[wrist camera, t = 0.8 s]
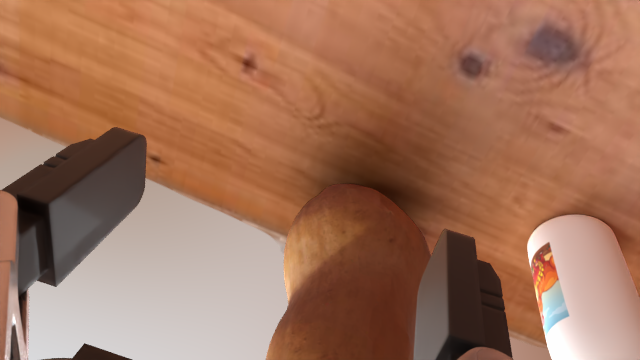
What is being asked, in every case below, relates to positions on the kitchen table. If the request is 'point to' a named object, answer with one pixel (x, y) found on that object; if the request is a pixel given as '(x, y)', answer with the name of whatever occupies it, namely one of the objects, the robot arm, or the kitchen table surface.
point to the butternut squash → (350, 279)
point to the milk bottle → (584, 290)
